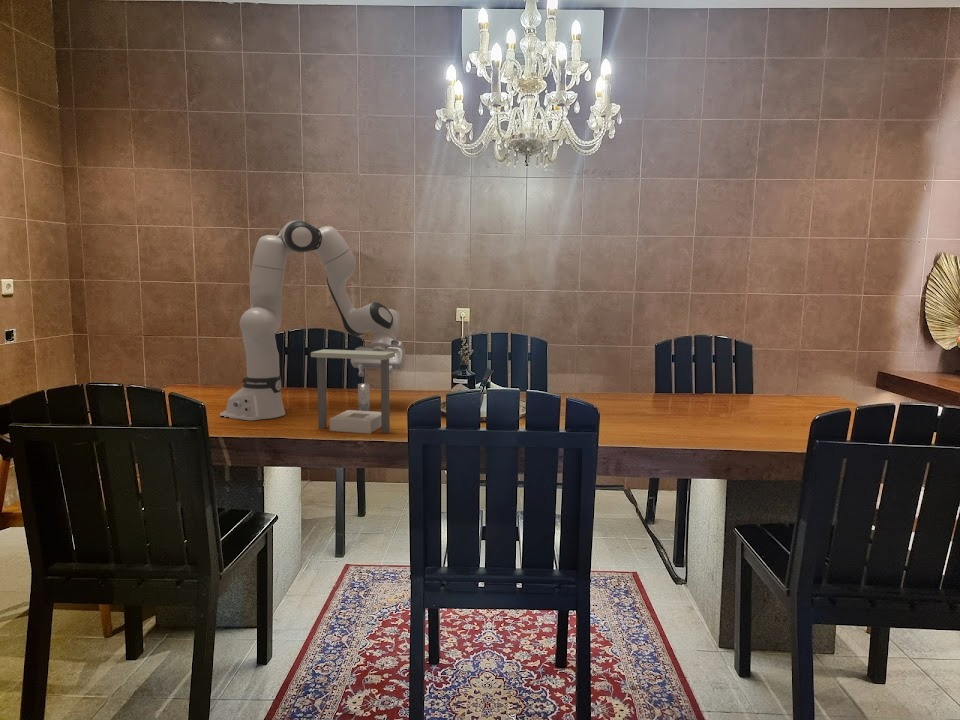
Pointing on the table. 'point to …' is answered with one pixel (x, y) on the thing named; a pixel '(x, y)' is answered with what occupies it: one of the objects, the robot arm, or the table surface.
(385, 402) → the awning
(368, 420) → the socket
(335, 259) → the robot arm
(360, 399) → the peg
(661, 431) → the table surface
